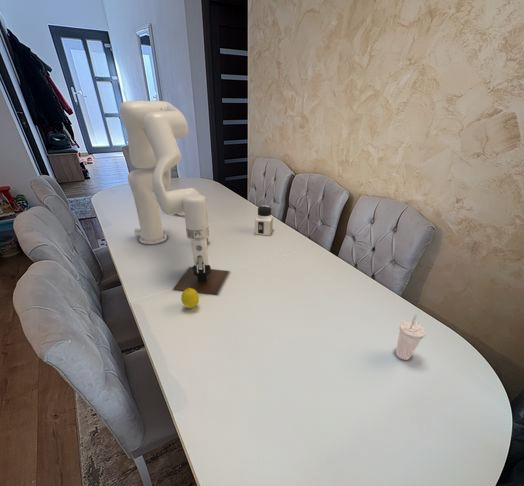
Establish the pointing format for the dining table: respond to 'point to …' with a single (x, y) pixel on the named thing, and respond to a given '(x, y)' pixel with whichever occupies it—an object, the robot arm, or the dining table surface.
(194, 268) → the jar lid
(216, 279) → the placemat
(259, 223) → the container
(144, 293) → the dining table surface
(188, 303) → the fruit
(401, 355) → the smoothie
